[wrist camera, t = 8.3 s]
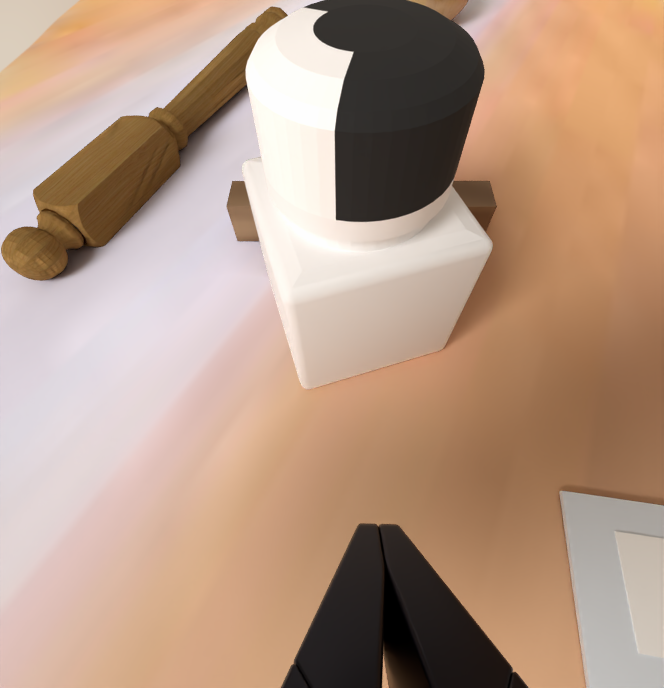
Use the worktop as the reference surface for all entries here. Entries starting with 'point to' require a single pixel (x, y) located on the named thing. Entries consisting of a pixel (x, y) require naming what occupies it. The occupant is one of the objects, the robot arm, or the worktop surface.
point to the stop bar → (470, 192)
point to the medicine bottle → (364, 181)
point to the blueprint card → (617, 588)
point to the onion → (444, 6)
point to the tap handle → (125, 165)
